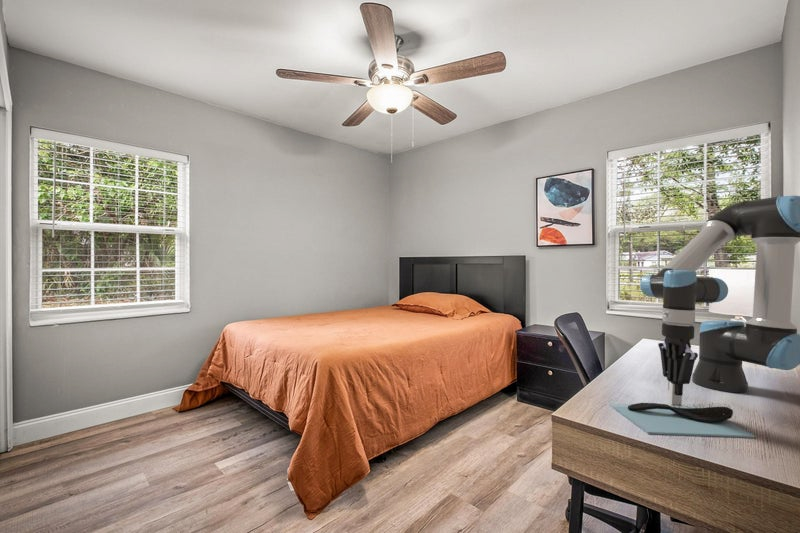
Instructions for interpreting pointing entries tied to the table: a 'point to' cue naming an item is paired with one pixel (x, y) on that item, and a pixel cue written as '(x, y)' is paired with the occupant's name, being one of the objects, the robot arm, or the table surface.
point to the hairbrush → (690, 411)
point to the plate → (677, 423)
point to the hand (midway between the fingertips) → (674, 404)
